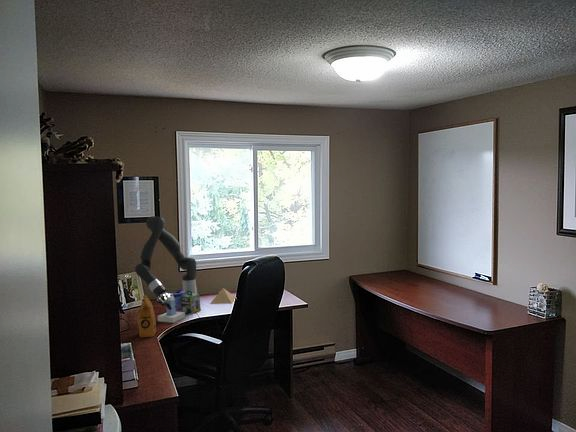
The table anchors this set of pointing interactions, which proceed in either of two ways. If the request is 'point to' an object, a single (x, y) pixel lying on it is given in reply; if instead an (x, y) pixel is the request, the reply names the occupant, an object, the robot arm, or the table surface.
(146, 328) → the coffee package
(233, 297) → the model pyramid
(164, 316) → the port block
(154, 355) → the table surface
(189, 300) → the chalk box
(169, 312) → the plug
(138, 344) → the table surface
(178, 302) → the ink cartridge box
